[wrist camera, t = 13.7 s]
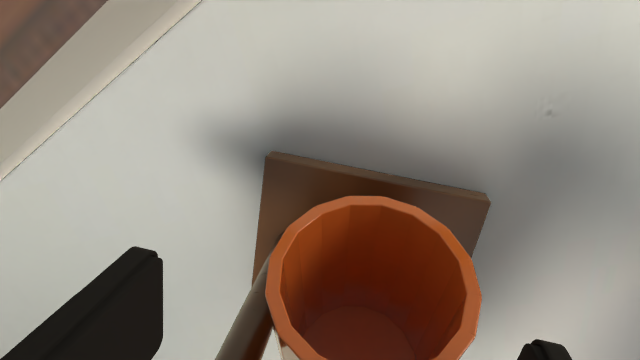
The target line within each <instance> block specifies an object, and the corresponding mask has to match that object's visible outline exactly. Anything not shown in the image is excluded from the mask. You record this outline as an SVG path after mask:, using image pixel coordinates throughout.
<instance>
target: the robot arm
mask: <svg viewBox="0 0 640 360" xmlns="http://www.w3.org/2000/svg"><path fill="white" fill-rule="evenodd" d="M162 338H163V261H162V259H161V258H158V254H157V253H156V252H155V251H153V250H148V249H144V248H140V247H132V248H130V249H129V250H127V251H126V252H125V253H124V254H123V255H122V256H121V257H119V258H118V259H117V260H116V261H115V262H114V263H112V264H111V265H110V266H109V267H108V268H107V269H105V270H104V271H103V272H102V273H101V274H100V275H99V276H97V277H96V278H95V279H94V280H93V281H92V282H90V283H89V284H88V285H87V286H86V287H85V288H83V289H82V290H81V291H80V292H79V293H77V294H76V295H74V296H73V297H72V298H71V299H70V300H69V301H67V302H66V303H65V304H64V305H63V306H62V307H61V308H59V309H58V310H57V311H56V312H55V313H54V314H52V315H51V316H50V317H49V318H48V319H47V320H45V321H44V322H43V323H42V324H41V325H40V326H38V327H37V328H36V329H35V330H34V331H33V332H31V333H30V334H29V335H28V336H27V337H26V338H24V339H23V340H22V341H21V342H20V343H19V344H18V345H16V346H15V347H14V348H13V349H12V350H11V351H9V352H8V353H7V354H6V355H5V356H4V357H2V358H1V359H0V360H151V359H152V358H153V356H154V355H155V354H156V352H157V351H158V349H159V347H160V345H161V342H162ZM517 360H572V358H571V357H570V355H569V353H568V351H567V350H566V348H565V347H564V346H562V345H560V344H556V343H552V342H547V341H543V340H539V339H535V340H534V341H532V343H531V344H525V345H524V347H523V349H522V351H521V353H520V355H519V357H518V359H517Z"/></svg>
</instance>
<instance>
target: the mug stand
mask: <svg viewBox="0 0 640 360" xmlns="http://www.w3.org/2000/svg"><path fill="white" fill-rule="evenodd" d="M346 196H347V197H348V196H382V197H387V198H390V199H393V200H397V201H400V202H403V203H406V204H410V205H413V206H416V207H417V208H420V209H421V210H423V211H424V212H426V213H427V214H428V215H430V216H431V217H433V218H434V219H436V220H437V221H439V222H440V223H442V224H443V225H445V226H446V227H447V228H448V229H449V230H450V231H451V232H452V234H453V235H454V236H455V238H456V239H457V240H458V242H459V243H460V244H461V246H462V247H463V248H464V250H465V251H466V252H467V254H468V255H469V256H470V258H471V257H472V254H473V251H474V249H475V246H476V243H477V240H478V238H479V235H480V232H481V229H482V227H483V224H484V221H485V218H486V216H487V213H488V210H489V207H490V205H491V202H490V200H489V198H488V197H487V195H486V194H485V193H480V192H475V191H470V190H465V189H460V188H455V187H450V186H445V185H440V184H435V183H430V182H425V181H420V180H415V179H410V178H405V177H400V176H395V175H390V174H385V173H380V172H375V171H370V170H365V169H360V168H355V167H350V166H345V165H340V164H335V163H330V162H325V161H320V160H315V159H310V158H305V157H300V156H295V155H290V154H285V153H280V152H275V151H271V152H270V153H269V154H268V155H267V156H266V157H265V166H264V175H263V184H262V194H261V203H260V213H259V222H258V231H257V241H256V250H255V260H254V269H253V278H252V288H251V290H250V292H249V294H248V296H247V298H246V300H245V302H244V304H243V306H242V308H241V310H240V312H239V314H238V315H237V317H236V319H235V321H234V323H233V325H232V327H231V329H230V331H229V333H228V335H227V337H226V339H225V341H224V343H223V345H222V347H221V349H220V351H219V353H218V355H217V357H216V359H215V360H261V359H262V356H263V354H264V351H265V348H266V346H267V343H268V340H269V337H270V335H271V332H272V329H273V325H272V321H271V317H270V313H269V309H268V305H267V301H266V297H265V289H266V280H267V272H268V264H269V258H270V255H271V254H272V252H273V250H274V249H275V247H276V245H277V244H278V242H279V240H280V239H281V237H282V235H283V234H284V232H285V230H286V229H287V227H288V226H289V225H290V224H292V223H293V222H294V221H296V220H297V219H298V218H300V217H301V216H302V215H304V214H305V213H306V212H308V211H309V210H310V209H312V208H313V207H315V206H317V205H320V204H323V203H326V202H330V201H333V200H336V199H339V198H342V197H346Z"/></svg>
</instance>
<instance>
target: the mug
mask: <svg viewBox="0 0 640 360" xmlns="http://www.w3.org/2000/svg"><path fill="white" fill-rule="evenodd" d="M265 297H266V301H267V305H268V309H269V313H270V317H271V321H272V325H273V329H274V333H275V337H276V341H277V345H278V349H279V353H280V357H281V360H459V359H460V357H461V356H462V355H463V354H464V352H465V351H466V350H467V348H468V347H469V346H470V344H471V343H472V342H473V340H474V339H475V336H476V332H477V326H478V320H479V314H480V308H481V301H482V295H481V291H480V287H479V284H478V280H477V277H476V273H475V270H474V266H473V263H472V260H471V258H470V256H469V255H468V254H467V252H466V251H465V250H464V248H463V247H462V246H461V244H460V243H459V242H458V240H457V239H456V238H455V236H454V235H453V234H452V232H451V231H450V230H449V229H448V228H447V227H446V226H445V225H443V224H442V223H440V222H439V221H437V220H436V219H434V218H433V217H431V216H430V215H428V214H427V213H426V212H424V211H423V210H421V209H420V208H417V207H416V206H413V205H410V204H406V203H403V202H400V201H397V200H393V199H390V198H387V197H382V196H348V197H347V196H346V197H342V198H339V199H336V200H333V201H330V202H326V203H323V204H320V205H317V206H315V207H313V208H312V209H310V210H309V211H308V212H306V213H305V214H304V215H302V216H301V217H300V218H298V219H297V220H296V221H294V222H293V223H292V224H290V225H289V226H288V227H287V229H286V230H285V232H284V234H283V235H282V237H281V239H280V240H279V242H278V244H277V245H276V247H275V249H274V250H273V252H272V254H271V255H270V258H269V264H268V272H267V280H266V289H265Z"/></svg>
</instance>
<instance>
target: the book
mask: <svg viewBox="0 0 640 360" xmlns="http://www.w3.org/2000/svg"><path fill="white" fill-rule="evenodd" d="M200 1H201V0H0V181H1V180H2V179H3V178H4V177H5V176H6V175H7V174H9V173H10V172H11V171H12V170H13V169H14V168H15V167H16V166H18V165H19V164H20V163H21V162H22V161H23V160H24V159H25V158H26V157H28V156H29V155H30V154H31V153H32V152H33V151H34V150H35V149H36V148H38V147H39V146H40V145H41V144H42V143H43V142H44V141H45V140H47V139H48V138H49V137H50V136H51V135H52V134H53V133H54V132H55V131H57V130H58V129H59V128H60V127H61V126H62V125H63V124H64V123H65V122H67V121H68V120H69V119H70V118H71V117H72V116H73V115H74V114H75V113H77V112H78V111H79V110H80V109H81V108H82V107H83V106H84V105H86V104H87V103H88V102H89V101H90V100H91V99H92V98H93V97H94V96H96V95H97V94H98V93H99V92H100V91H101V90H102V89H103V88H104V87H106V86H107V85H108V84H109V83H110V82H111V81H112V80H113V79H114V78H116V77H117V76H118V75H119V74H120V73H121V72H122V71H123V70H125V69H126V68H127V67H128V66H129V65H130V64H131V63H132V62H133V61H135V60H136V59H137V58H138V57H139V56H140V55H141V54H142V53H143V52H145V51H146V50H147V49H148V48H149V47H150V46H151V45H152V44H154V43H155V42H156V41H157V40H158V39H159V38H160V37H161V36H162V35H164V34H165V33H166V32H167V31H168V30H169V29H170V28H171V27H172V26H174V25H175V24H176V23H177V22H178V21H179V20H180V19H181V18H182V17H184V16H185V15H186V14H187V13H188V12H189V11H190V10H191V9H193V8H194V7H195V6H196V5H197V4H198V3H199V2H200Z"/></svg>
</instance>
